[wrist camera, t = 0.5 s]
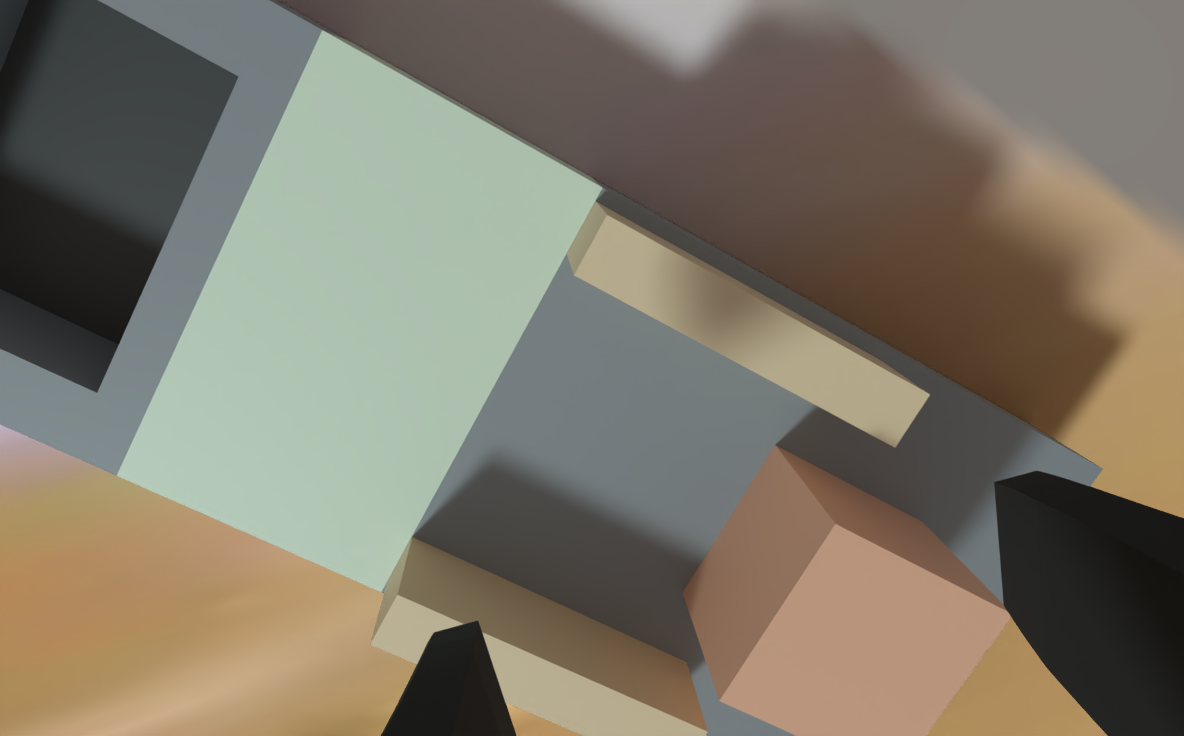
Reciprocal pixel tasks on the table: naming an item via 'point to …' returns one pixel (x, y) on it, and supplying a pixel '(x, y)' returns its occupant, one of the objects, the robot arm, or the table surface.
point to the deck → (518, 399)
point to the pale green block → (357, 315)
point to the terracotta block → (836, 609)
